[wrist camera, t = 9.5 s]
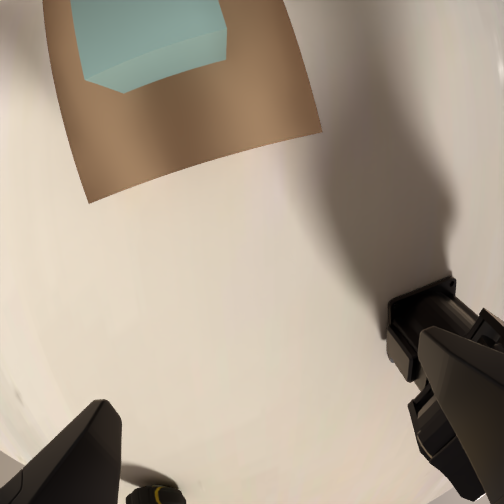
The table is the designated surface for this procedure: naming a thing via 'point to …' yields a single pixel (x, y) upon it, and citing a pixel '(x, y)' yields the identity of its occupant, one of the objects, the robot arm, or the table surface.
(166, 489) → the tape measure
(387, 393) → the table surface
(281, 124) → the walnut plinth
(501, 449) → the robot arm
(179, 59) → the slate block
